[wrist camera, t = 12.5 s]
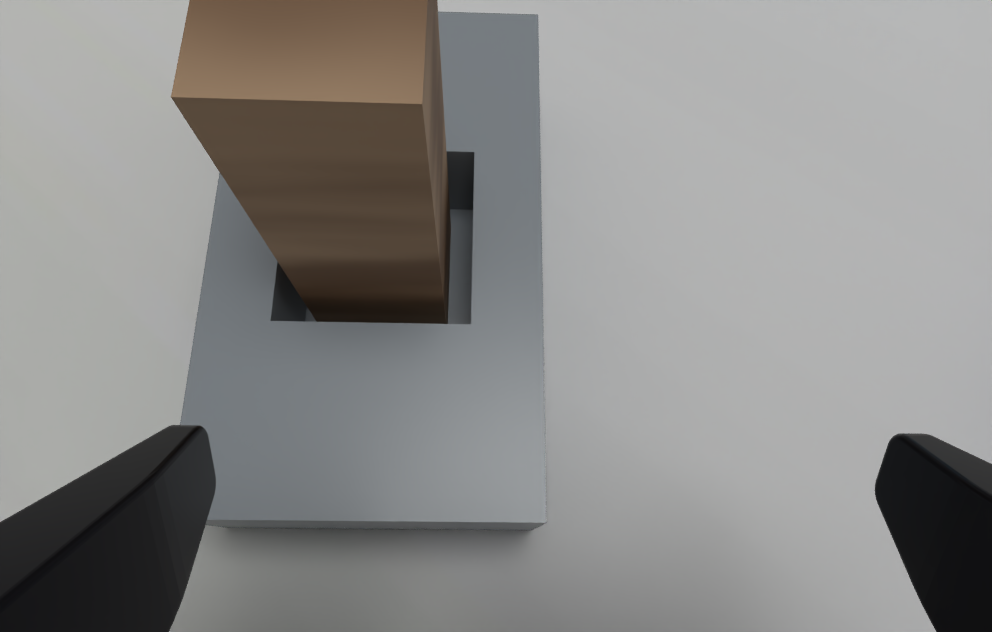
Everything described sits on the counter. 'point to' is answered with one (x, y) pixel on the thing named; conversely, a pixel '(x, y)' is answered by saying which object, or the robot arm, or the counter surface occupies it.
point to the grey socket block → (393, 342)
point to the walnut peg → (330, 144)
